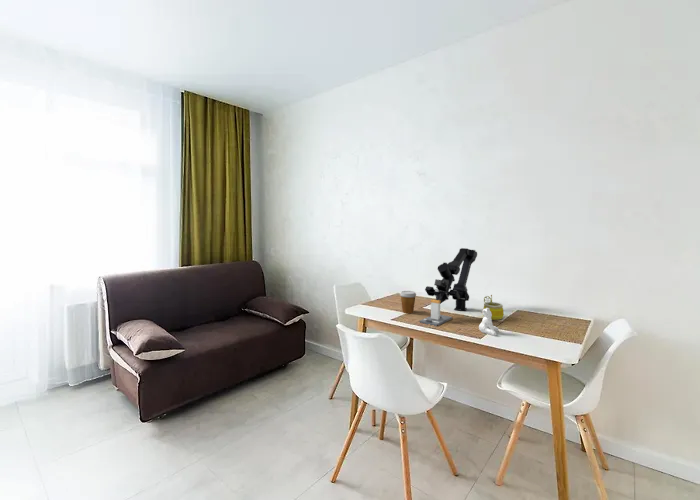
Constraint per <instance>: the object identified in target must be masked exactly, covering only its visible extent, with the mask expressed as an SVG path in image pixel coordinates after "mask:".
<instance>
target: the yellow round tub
mask: <svg viewBox="0 0 700 500" xmlns="http://www.w3.org/2000/svg"><path fill="white" fill-rule="evenodd" d="M483 302H484V303H483V308H482V310H483V309H486V308H489V310H490V311H491V314H492V317H491V320H492V321H498V320H502V319H503V318H504V315H505V313H504V306H503V304H502V303H500V302H494V301H493V294H491V295H490V296H489V295H485V296H484V298H483ZM482 316H483V317H484V315H483V314H482Z"/></svg>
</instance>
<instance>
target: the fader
mask: <svg viewBox="0 0 700 500" xmlns="http://www.w3.org/2000/svg"><path fill="white" fill-rule="evenodd" d="M440 303H441V301H440V300H436V299H434V298H433V299H430V316H431V319H436V320H439V319H440V315H441V304H442V303H441V304H440Z"/></svg>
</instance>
